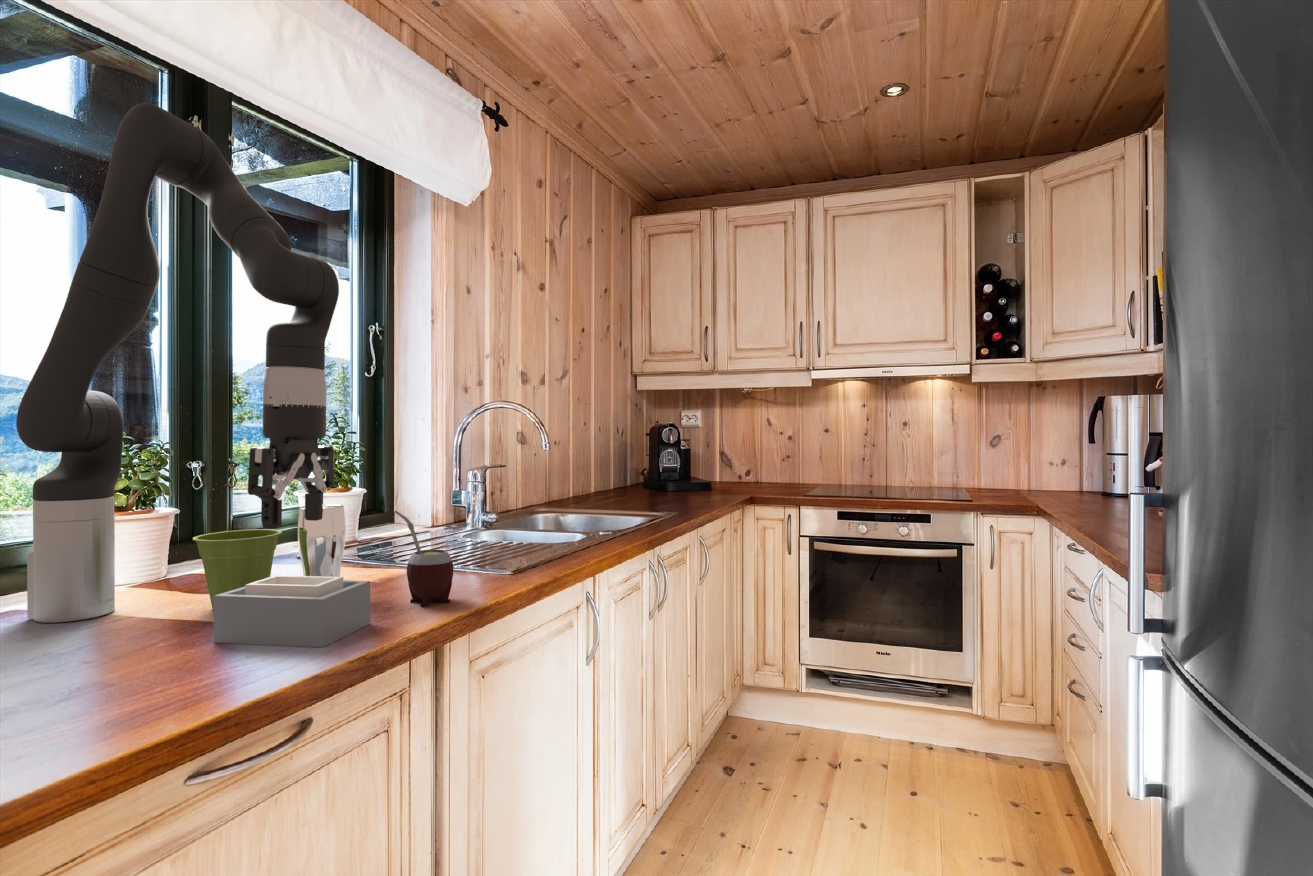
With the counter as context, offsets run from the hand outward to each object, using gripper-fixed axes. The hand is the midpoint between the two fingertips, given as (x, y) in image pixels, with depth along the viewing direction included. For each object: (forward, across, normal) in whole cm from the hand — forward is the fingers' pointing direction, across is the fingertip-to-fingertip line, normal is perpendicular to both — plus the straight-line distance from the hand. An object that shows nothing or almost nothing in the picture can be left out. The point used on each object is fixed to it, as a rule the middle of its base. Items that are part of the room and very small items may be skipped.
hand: (293, 524), depth 93 cm
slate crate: (+15, 0, 0) cm, 15 cm away
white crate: (+14, 0, 0) cm, 14 cm away
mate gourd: (+15, -18, +10) cm, 26 cm away
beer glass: (+15, -18, -8) cm, 25 cm away
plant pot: (+15, -12, -18) cm, 26 cm away
